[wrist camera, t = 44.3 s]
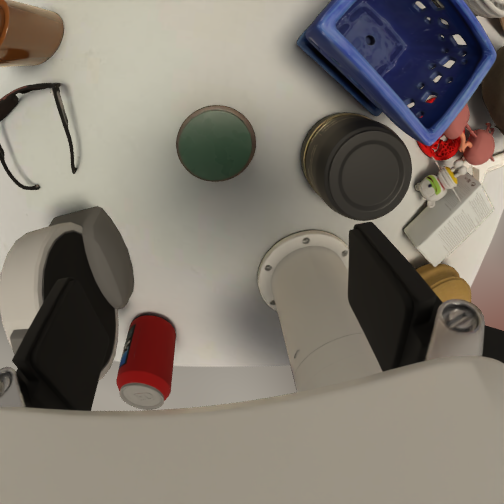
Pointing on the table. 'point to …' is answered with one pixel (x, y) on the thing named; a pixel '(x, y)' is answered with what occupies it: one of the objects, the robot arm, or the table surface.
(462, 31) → the flower pot
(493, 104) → the cantaloupe
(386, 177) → the jar
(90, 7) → the table surface
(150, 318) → the beverage can
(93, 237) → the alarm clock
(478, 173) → the wrench
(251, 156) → the coaster
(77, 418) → the robot arm
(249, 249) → the table surface
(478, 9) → the light bulb
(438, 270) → the pot
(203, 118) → the lid
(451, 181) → the toy
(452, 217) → the cosmetic box
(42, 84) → the sunglasses
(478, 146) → the figurine
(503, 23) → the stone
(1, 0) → the jam jar
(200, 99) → the table surface
